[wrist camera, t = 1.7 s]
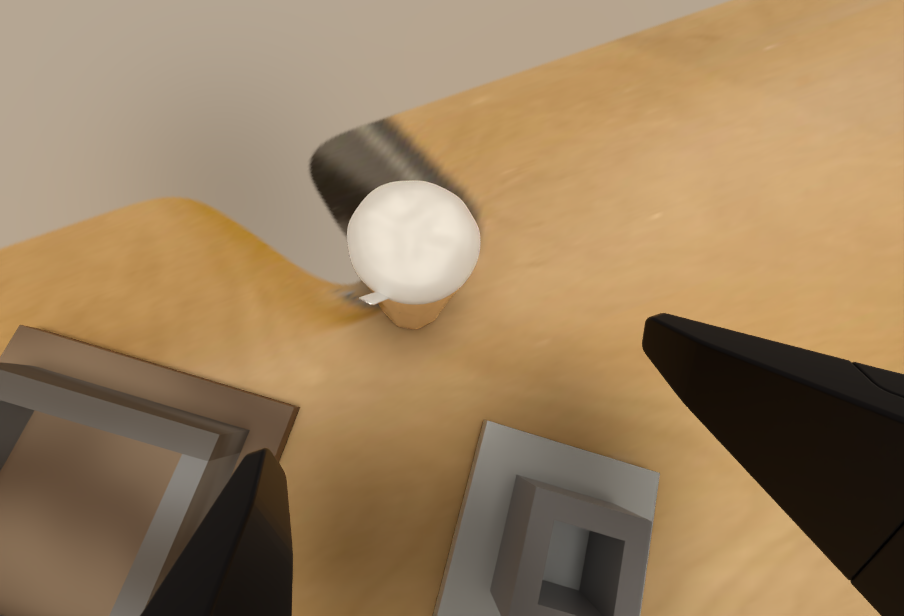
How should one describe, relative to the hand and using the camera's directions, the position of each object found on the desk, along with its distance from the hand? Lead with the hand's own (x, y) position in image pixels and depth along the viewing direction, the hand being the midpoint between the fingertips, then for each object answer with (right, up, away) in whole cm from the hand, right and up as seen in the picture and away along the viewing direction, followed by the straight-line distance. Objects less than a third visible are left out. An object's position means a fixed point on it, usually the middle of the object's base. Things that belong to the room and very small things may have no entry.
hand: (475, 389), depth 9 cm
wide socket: (-16, -7, +9) cm, 20 cm away
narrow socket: (+4, -9, +10) cm, 15 cm away
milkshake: (-3, +2, +13) cm, 13 cm away
